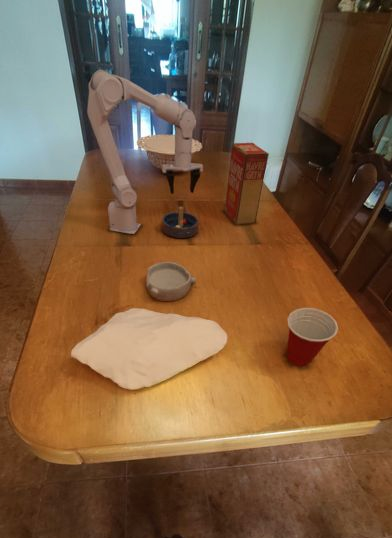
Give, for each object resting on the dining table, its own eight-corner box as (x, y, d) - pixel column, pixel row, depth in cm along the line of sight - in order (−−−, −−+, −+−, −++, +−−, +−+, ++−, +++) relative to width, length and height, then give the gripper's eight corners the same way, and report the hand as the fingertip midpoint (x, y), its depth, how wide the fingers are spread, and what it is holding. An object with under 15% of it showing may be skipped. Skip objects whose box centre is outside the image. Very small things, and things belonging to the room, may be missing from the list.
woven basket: (174, 158, 177) (174, 131, 168) (213, 175, 162) (216, 147, 153) (125, 168, 161) (122, 139, 152) (164, 188, 146) (164, 157, 137)
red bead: (181, 225, 120) (178, 222, 121) (185, 226, 122) (183, 223, 123) (183, 220, 119) (180, 217, 120) (188, 221, 120) (185, 218, 121)
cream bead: (172, 230, 117) (174, 224, 116) (176, 230, 119) (178, 224, 118) (177, 231, 116) (178, 225, 115) (180, 232, 118) (182, 226, 117)
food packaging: (222, 210, 134) (231, 142, 116) (243, 209, 136) (254, 141, 118) (235, 225, 125) (246, 153, 107) (256, 223, 128) (271, 153, 110)
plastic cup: (270, 342, 81) (282, 306, 73) (310, 342, 82) (327, 306, 74) (281, 376, 74) (296, 340, 65) (325, 374, 75) (346, 339, 66)
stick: (177, 229, 119) (177, 208, 113) (178, 227, 120) (179, 206, 114) (181, 230, 118) (182, 209, 112) (183, 228, 119) (184, 207, 114)
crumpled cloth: (75, 323, 80) (66, 298, 72) (208, 307, 87) (213, 282, 79) (79, 408, 67) (69, 389, 60) (234, 381, 74) (242, 360, 67)
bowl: (157, 235, 116) (157, 224, 113) (168, 220, 125) (168, 209, 122) (193, 242, 114) (194, 231, 111) (201, 225, 123) (202, 215, 120)
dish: (155, 308, 88) (154, 293, 84) (137, 280, 96) (136, 266, 92) (201, 295, 93) (202, 281, 89) (180, 270, 101) (181, 256, 97)
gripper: (165, 155, 104) (165, 197, 114) (206, 154, 107) (203, 195, 117) (160, 148, 108) (161, 190, 118) (200, 147, 112) (197, 188, 122)
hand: (181, 192), depth 118 cm, fingers open, 7 cm apart
